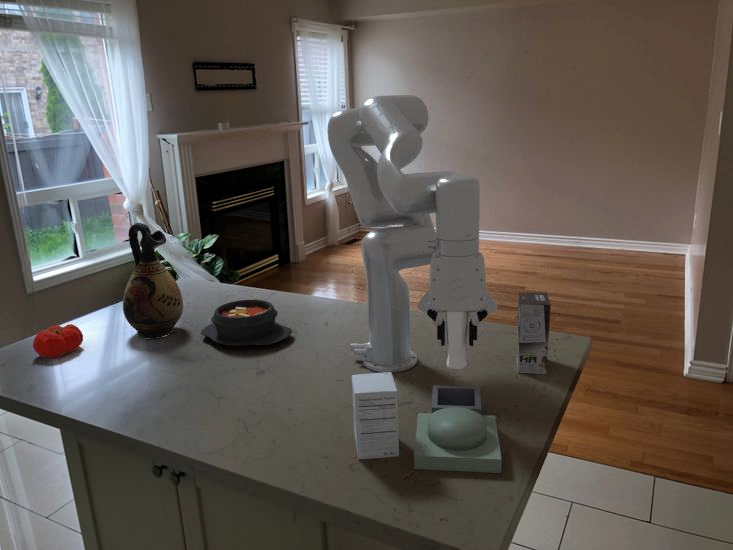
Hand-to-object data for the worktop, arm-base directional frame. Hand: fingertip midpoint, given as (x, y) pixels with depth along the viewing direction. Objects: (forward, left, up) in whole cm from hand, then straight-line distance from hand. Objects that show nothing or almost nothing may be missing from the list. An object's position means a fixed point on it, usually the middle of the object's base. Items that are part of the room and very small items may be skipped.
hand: (456, 342), depth 110 cm
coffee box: (+17, +24, -15) cm, 33 cm away
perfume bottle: (0, 0, -5) cm, 5 cm away
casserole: (-54, +37, -15) cm, 67 cm away
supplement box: (-14, -12, -15) cm, 24 cm away
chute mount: (0, -7, -15) cm, 17 cm away
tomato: (-99, +25, -15) cm, 103 cm away
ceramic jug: (-81, +40, -15) cm, 92 cm away
